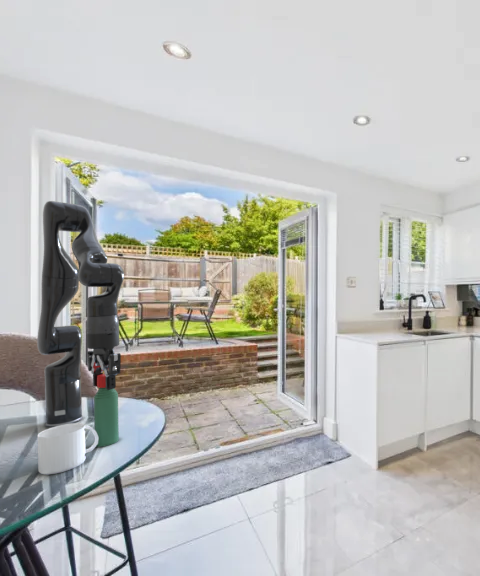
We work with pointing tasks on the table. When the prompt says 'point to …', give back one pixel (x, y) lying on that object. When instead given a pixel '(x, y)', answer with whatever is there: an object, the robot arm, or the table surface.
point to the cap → (101, 381)
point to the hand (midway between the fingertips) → (104, 387)
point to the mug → (63, 447)
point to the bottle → (106, 416)
